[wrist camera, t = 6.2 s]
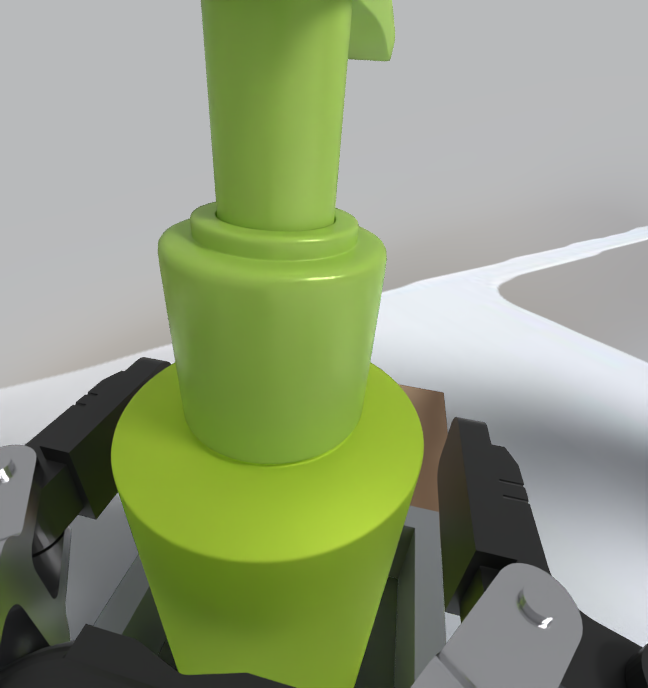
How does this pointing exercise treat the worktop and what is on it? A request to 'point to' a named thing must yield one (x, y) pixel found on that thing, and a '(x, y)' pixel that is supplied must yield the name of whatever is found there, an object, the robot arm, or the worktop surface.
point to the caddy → (408, 567)
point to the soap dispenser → (272, 372)
